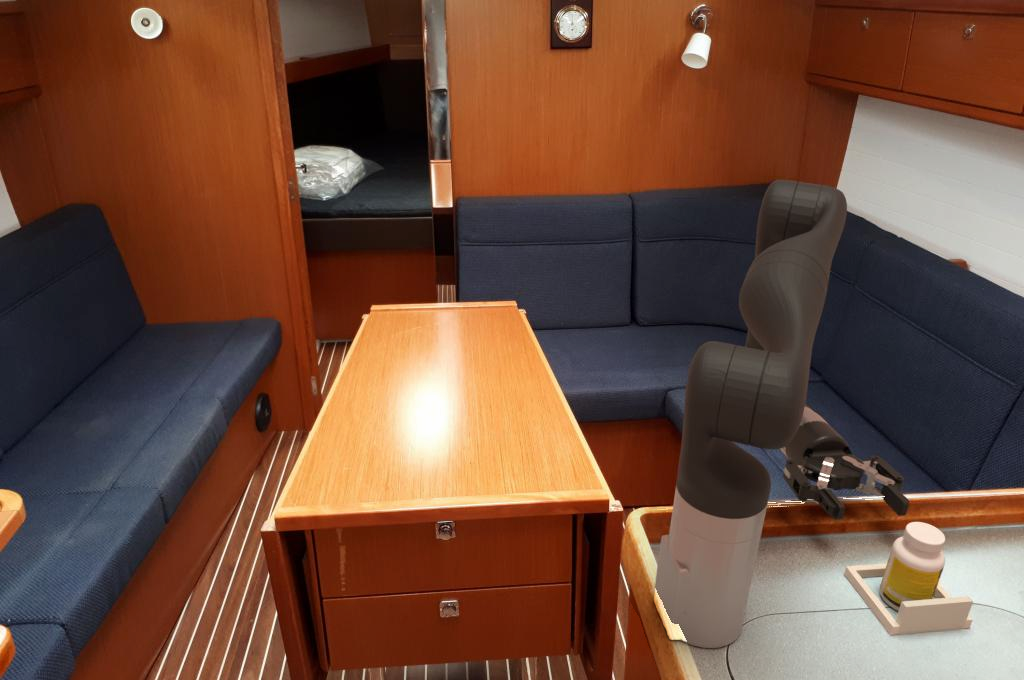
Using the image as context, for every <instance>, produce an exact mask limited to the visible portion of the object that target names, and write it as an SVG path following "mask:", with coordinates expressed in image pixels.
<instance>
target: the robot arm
mask: <svg viewBox="0 0 1024 680" xmlns="http://www.w3.org/2000/svg"><path fill="white" fill-rule="evenodd" d="M847 212H848V203H847V198H846V195H845V194H844V193H843V191H842V190H840V189H838V188H836V187H833V186H830V185H823V184H818V183H812V182H804V181H797V180H791V179H790V180H789V179H776V180H774V181H772V182H771V183H770V184H769V185H768V186H767V188H766V191H765V193H764V195H763V198H762V201H761V206H760V210H759V215H758V218H757V219H758V220H757V226H756V237H755V252H754V253H755V254H754V259H753V261H752V263H751V264H750V266H749V268H748V271H747V272H746V275H745V278H744V281H743V283H742V286H741V288H740V292H739V296H738V297H739V298H738V308H739V311H740V314H741V317H742V319H743V321H744V324H745V325H746V327H747V329H748V330H747V333H746V334H747V335H746V339H745V345H743V346H742V345H736V344H732V343H727V342H722V341H714V340H713V341H712V340H711V341H706V342H704V343H703V344H701V345H700V346H699V347H698V349H697V350H696V352H695V354H694V356H693V358H692V360H691V363H690V366H689V370H688V374H687V379H686V383H685V384H686V387H685V392H684V393H685V394H684V406H683V422H682V434H681V446H680V452H679V453H680V454H679V458H678V459H679V460H678V468H677V469H678V470H677V476H676V483H675V492H674V496H673V497H674V499H673V505H672V512H671V519H670V526H669V532H668V534H664V535H661V537H660V538H661V539H660V546H659V553H658V562H657V568H656V573H655V574H656V575H655V583H654V589H655V588H656V590H657V593H658V595H659V597H660V599H661V600H662V602H663V605H664V608H665V609H666V612H667V614H668V616H669V618H670V620H671V622H672V623H674V624H679V626H680V628H681V630H682V632H683V634H684V636H685V638H686V640H687V642H688V643H687V644H688V645H691V646H695V647H700V648H704V649H716V648H717V649H718V648H723V647H725V646H729V645H730V644H732V643H734V642H735V641H736V640H737V639H738V638H739V636H740V634H741V633H742V629H743V625H744V620H745V617H746V613H747V611H746V610H747V606H748V601H749V596H750V591H751V586H752V582H753V575H754V570H755V566H756V562H757V561H756V560H757V557H758V552H759V548H760V542H761V538H762V537H761V536H762V532H763V528H764V527H763V526H764V523H765V518H766V514H767V508H768V505H769V500H770V494H771V488H772V480H771V476H770V473H769V470H768V469H767V467H766V466H765V465H764V464H763V463H762V462H761V461H760V460H759V459H758V458H757V457H755V456H754V455H753V454H752V453H750V452H748V451H746V450H745V449H744V448H742V447H740V446H739V445H737V444H741V445H745V446H751V447H753V448H754V447H755V448H758V449H764V450H781V452H782V453H783V454H784V455H785V457H786V458H787V460H786V461H785V465H784V469H783V475H782V478H783V479H784V481H785V482H786V484H787V485H788V486H789V488H790V489H791V491H792V493H793V494H794V495H795V497H796V498H797V500H799V501H800V502H807V501H808V500H812V501H813V502H814V503H816V504H818V505H820V507H821V508H822V509H823V510H824V511H825V513H826V514H827V515H828V516H829V517H832V518H833V519H834V520H835V521H842V520H843V518H844V515H845V512H846V511H845V510H846V507H845V504H844V503H843V502H842V501H841V500H840V499H839V497H838V496H836V494H835V492H833V491H841V490H856V491H858V492H860V493H863V494H865V495H870V494H872V495H875V496H877V497H879V496H885V497H881V498H882V500H883V501H884V503H886V504H887V506H888V507H889V508H890V509H892V511H893V512H894V513H895V514H896V515H897V516H898V517H903V516H906V515H907V512H908V509H909V506H910V500H909V499H908V498H907V497H906V496H905V495H904V494H903V493H902V488H903V484H904V483H905V477H904V476H903V475H902V474H900V473H899V472H898V471H897V470H896V469H894V468H893V466H891V465H890V464H889V463H888V462H887V461H886V460H884V459H883V457H880V456H879V455H873V454H872V455H871V459H870V460H865V461H863V460H862V459H861V458H859V457H856V456H855V455H853V453H852V451H851V448H850V446H849V444H848V443H847V441H846V440H845V439H844V438H843V437H842V436H841V435H840V434H839V433H838V432H837V431H836V430H835V429H834V428H833V427H832V426H831V425H830V424H829V423H828V422H827V421H826V420H825V419H824V418H823V417H822V416H821V415H819V413H817V412H815V411H813V410H812V409H811V408H810V406H809V405H807V403H806V402H807V394H808V387H809V379H810V368H811V362H812V361H811V360H812V353H813V347H814V343H815V342H814V341H815V337H816V333H817V330H818V326H819V323H820V320H821V317H822V315H823V314H822V313H823V311H824V310H823V309H824V308H825V307H824V306H825V302H826V297H827V293H828V287H829V281H830V274H831V269H832V263H833V259H834V255H835V252H836V250H837V247H838V245H839V241H840V240H841V237H842V234H843V231H844V228H845V223H846V220H847V215H848V213H847ZM736 443H737V444H736ZM864 474H865V475H866V476H867V478H866V482H865V484H864V483H861V482H862V479H863V475H864ZM810 481H812V482H815V483H816V485H815V484H814V485H813V484H812V483H811V482H810ZM876 483H879V484H880V485H881V486H882V488H881V487H878V486H876V485H875V484H876ZM831 489H832V490H831Z"/></svg>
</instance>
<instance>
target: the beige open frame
mask: <svg viewBox="0 0 1024 680" xmlns="http://www.w3.org/2000/svg"><path fill="white" fill-rule="evenodd" d="M886 565H887V562H886V563H877V564H876V563H874V564H861V565H850V566H849V565H848V566H845V569H844V573H843V575H844V576H845V577H846V578H847V580H848V581H849V583H850V584H851V586H852V587H853V588H854V589H855V591H856V592H857V593H858V595H859V596H860V598H862V599H863V601H864V602H865V603H866V605H867V607H869V609H870V610H871V611H872V613H873V614H874V615H875V617H876V618H877V619H878V621H879V622H880V623H881V625H882V626H883V627H884V628H885V629H886V631H887V633H888V634H889V635H890V636H893V635H894V636H895V635H896V636H897V635H905V634H907V635H908V634H916V633H917V634H918V633H928V632H938V631H949V630H952V631H953V630H961V629H970V628H971V625H972V623H973V618H971V616H970V615H969V614H970V612H971V609H972V606H973V604H974V600H973V599H972V598H971V597H970V596H969V595H965V596H962V595H961V596H952V595H951V594H950V593H949V592H948V591H947V590H946V589H945V588H944V586H942V584H941V583H940V581H939V582H938V585H937V588H936V591H935V594H934V597H935V598H933V599H926V600H915V601H903V602H901V605H900V608H899V611H898V612H897V615H896V618H894V616H892V615H891V613H890V611H888V609H887V608H886V607H885V606H884V604H883V603H882V602H881V600H880V599H879V598H878V597H877V595H876V594H875V593H874V592H873V590H872V589H871V588H870V586H869V585H868V584H867V583H866V582H865V580H864V579H865V578H874V577H883V575H884V572H885V569H886ZM863 578H864V579H863Z"/></svg>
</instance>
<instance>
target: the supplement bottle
mask: <svg viewBox="0 0 1024 680" xmlns="http://www.w3.org/2000/svg"><path fill="white" fill-rule="evenodd" d="M904 528H905V529H904V532H903V535H902V536H899V537H897V538H896V539H895V540H894V542H893V544H892V547H891V549H890V553H889V557H888V558H887V559H888V560H887V562H886V563H887V565H886V569H885V572H884V575H883V576H882V579H881V582H880V585H879V594H880V596H881V599H882V600H883V601H884V602H885V603H886V604H887V605H888V606H889V607H891V608H892V609H893V610H895V611H899V608H900V605H901V602H903V601H915V600H926V599H934V597H935V596H934V594H935V591H936V588H937V585H938V582H939V583H940V579H941V576H942V574H943V570H944V567H945V565H946V556H945V553H944V552H943V551H942V550H943V549H944V546H945V541H946V536H945V534H944V533H943V532H942V531H941V529H939V528H937V527H935V526H934V525H931V524H929V523H927V522H921V521H911V522H908V523H907V525H906V526H905V527H904Z"/></svg>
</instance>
